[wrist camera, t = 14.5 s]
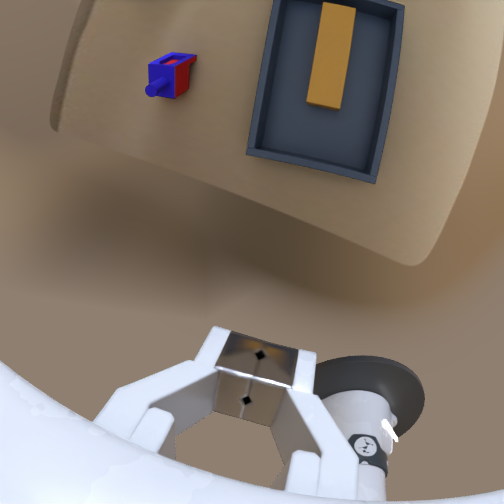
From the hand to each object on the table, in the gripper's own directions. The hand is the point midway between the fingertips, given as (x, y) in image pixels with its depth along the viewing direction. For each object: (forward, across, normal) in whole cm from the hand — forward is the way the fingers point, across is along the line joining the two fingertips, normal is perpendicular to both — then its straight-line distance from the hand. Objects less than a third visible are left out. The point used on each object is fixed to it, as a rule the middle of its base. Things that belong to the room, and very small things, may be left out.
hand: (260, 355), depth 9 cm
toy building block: (+30, -18, +10) cm, 37 cm away
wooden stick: (+27, 0, +9) cm, 29 cm away
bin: (+30, 0, +12) cm, 32 cm away
